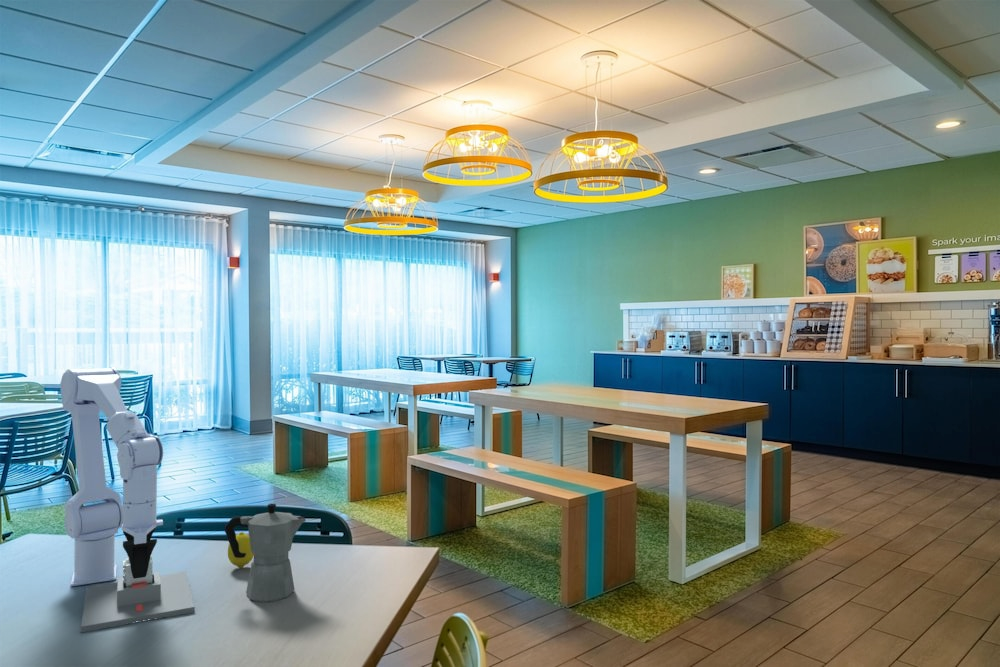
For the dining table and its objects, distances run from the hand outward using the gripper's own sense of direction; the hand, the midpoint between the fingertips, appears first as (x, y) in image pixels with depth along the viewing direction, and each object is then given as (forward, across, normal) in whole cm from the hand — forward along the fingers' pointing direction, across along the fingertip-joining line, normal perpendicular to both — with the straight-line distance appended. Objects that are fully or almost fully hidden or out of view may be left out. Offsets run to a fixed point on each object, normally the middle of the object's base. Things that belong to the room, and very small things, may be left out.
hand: (139, 570), depth 129 cm
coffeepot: (+6, -7, -22) cm, 24 cm away
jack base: (+6, 0, 0) cm, 6 cm away
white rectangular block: (+5, 0, 0) cm, 5 cm away
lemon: (+6, +10, -20) cm, 23 cm away
